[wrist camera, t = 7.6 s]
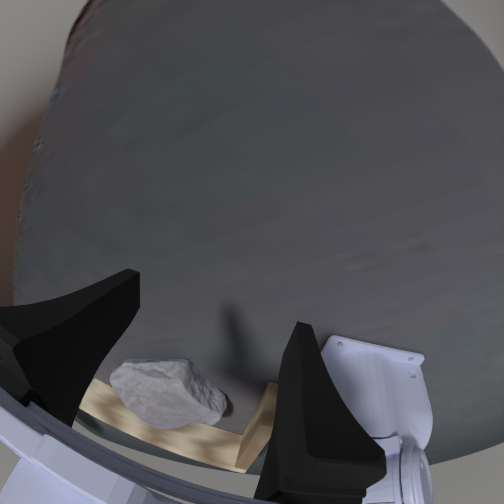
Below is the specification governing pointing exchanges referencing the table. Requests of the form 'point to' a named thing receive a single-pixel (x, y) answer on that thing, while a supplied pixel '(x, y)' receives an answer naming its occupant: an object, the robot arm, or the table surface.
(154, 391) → the stone block
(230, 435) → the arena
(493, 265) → the table surface
